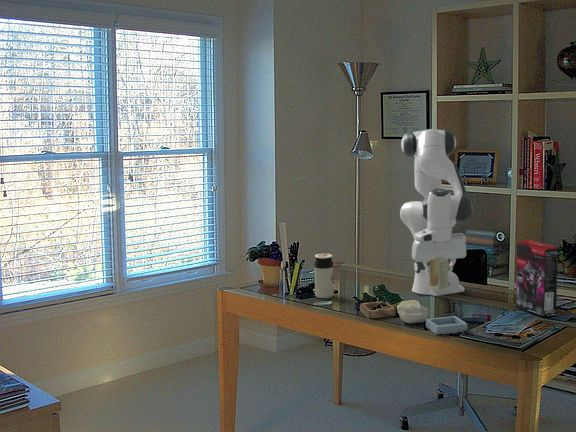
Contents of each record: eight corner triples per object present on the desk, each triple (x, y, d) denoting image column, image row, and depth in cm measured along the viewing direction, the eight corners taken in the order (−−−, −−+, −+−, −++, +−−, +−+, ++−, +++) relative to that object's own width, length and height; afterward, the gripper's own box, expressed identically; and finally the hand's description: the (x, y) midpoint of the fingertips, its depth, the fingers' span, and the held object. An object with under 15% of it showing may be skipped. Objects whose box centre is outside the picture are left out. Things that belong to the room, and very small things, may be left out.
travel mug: (312, 297, 338) (311, 256, 334) (320, 292, 345) (319, 252, 341) (329, 299, 334) (328, 258, 331) (336, 294, 341) (335, 254, 338)
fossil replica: (434, 322, 300) (414, 318, 308) (434, 300, 299) (414, 297, 307) (412, 326, 292) (393, 322, 300) (412, 304, 292) (392, 301, 300)
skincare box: (439, 286, 293) (439, 253, 291) (448, 288, 290) (449, 255, 288) (428, 289, 289) (429, 256, 287) (438, 291, 286) (438, 258, 284)
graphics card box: (513, 307, 314) (515, 240, 310) (527, 305, 317) (529, 238, 312) (543, 319, 299) (545, 248, 294) (557, 316, 301) (559, 246, 297)
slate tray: (455, 323, 296) (455, 316, 296) (467, 331, 287) (467, 323, 286) (425, 326, 294) (425, 319, 293) (436, 335, 284) (436, 327, 284)
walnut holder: (385, 308, 319) (385, 301, 318) (395, 315, 308) (395, 308, 308) (360, 310, 316) (359, 303, 316) (369, 318, 306) (368, 311, 305)
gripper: (462, 230, 291) (461, 267, 294) (410, 234, 287) (410, 271, 289) (469, 233, 285) (469, 271, 287) (416, 237, 281) (416, 275, 283)
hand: (439, 271), depth 288 cm, fingers closed on skincare box, 7 cm apart
